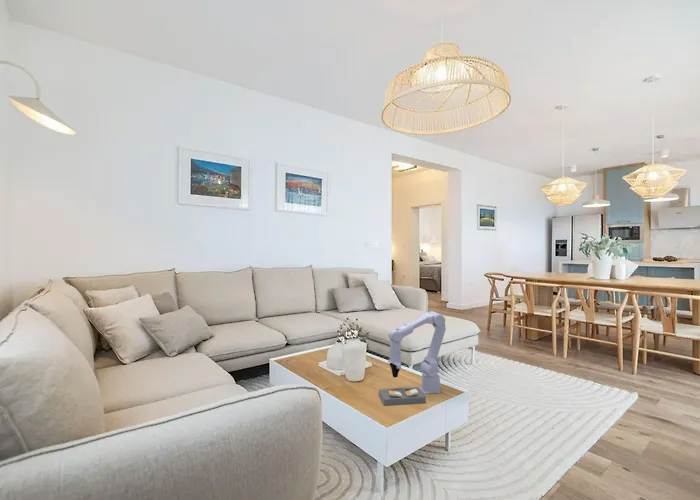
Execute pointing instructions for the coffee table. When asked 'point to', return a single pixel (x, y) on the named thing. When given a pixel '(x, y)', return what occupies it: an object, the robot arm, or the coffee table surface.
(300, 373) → the coffee table surface
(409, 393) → the rocker
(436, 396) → the coffee table surface
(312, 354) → the coffee table surface
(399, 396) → the rocker
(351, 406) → the coffee table surface
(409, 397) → the grey switch panel
